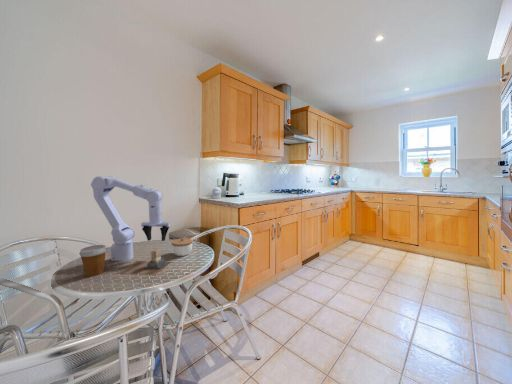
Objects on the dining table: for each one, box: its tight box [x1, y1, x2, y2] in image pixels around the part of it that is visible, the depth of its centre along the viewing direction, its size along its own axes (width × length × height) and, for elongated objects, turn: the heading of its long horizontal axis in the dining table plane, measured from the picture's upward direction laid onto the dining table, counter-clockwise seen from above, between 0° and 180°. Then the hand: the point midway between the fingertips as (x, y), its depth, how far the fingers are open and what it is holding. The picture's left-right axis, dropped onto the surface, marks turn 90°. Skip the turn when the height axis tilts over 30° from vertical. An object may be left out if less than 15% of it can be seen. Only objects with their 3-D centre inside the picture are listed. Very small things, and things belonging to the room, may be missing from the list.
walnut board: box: [116, 260, 172, 276], centre depth 100 cm, size 18×14×1 cm
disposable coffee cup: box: [78, 244, 108, 278], centre depth 94 cm, size 10×10×12 cm
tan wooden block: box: [150, 247, 162, 263], centre depth 101 cm, size 2×4×7 cm, turn 176°
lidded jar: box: [171, 237, 193, 257], centre depth 117 cm, size 11×11×9 cm
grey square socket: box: [145, 257, 168, 269], centre depth 101 cm, size 7×7×3 cm
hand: (156, 240), depth 111 cm, fingers open, 7 cm apart
